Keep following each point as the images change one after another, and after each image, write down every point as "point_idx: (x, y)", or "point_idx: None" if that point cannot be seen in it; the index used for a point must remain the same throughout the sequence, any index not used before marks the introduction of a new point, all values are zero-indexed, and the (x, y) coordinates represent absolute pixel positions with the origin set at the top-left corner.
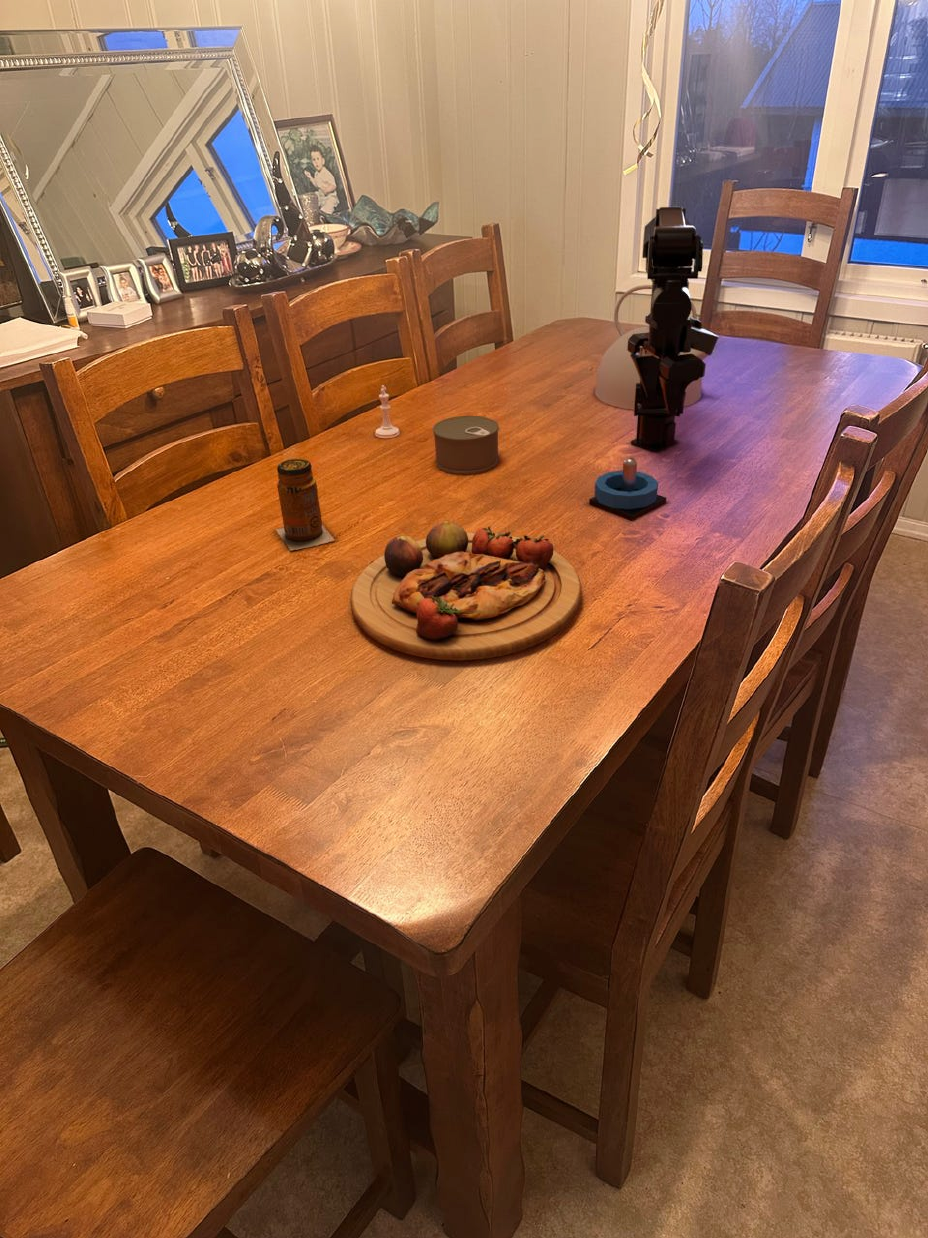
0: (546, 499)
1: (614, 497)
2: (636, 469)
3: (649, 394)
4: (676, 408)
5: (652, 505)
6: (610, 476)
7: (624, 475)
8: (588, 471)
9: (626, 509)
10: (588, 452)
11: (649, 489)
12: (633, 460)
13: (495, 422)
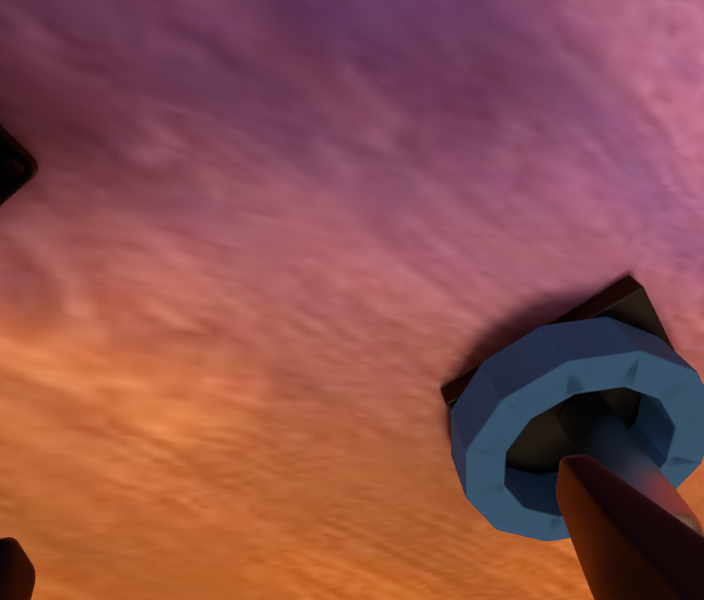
0: (451, 580)
1: None
2: (675, 492)
3: (19, 593)
4: (636, 496)
5: (672, 347)
6: (508, 495)
7: None
8: (258, 470)
9: None
10: (50, 451)
11: (689, 395)
12: None
13: None
